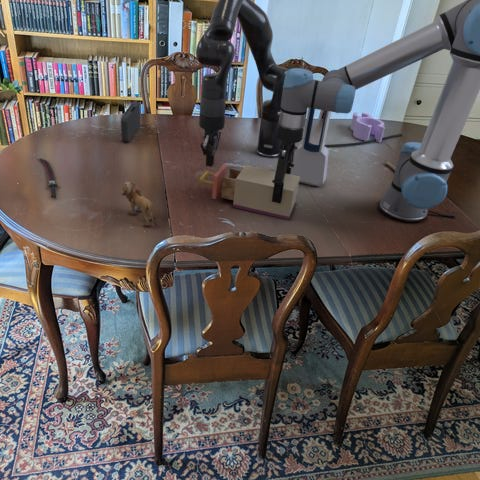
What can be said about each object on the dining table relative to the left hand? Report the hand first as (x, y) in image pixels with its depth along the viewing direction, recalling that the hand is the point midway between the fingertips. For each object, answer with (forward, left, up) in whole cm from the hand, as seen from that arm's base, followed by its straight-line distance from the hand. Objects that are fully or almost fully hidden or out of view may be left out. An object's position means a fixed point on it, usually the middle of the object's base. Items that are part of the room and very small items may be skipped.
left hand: (209, 165), depth 147 cm
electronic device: (-37, +6, -10) cm, 39 cm away
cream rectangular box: (-12, +15, -10) cm, 22 cm away
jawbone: (-81, +17, -10) cm, 83 cm away
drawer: (-6, +7, -9) cm, 12 cm away
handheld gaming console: (+2, -58, -10) cm, 59 cm away
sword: (+43, -30, -10) cm, 53 cm away
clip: (-96, -21, -10) cm, 99 cm away
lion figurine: (+26, +5, -10) cm, 28 cm away
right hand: (-15, +18, -5) cm, 24 cm away
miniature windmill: (-70, -44, -10) cm, 83 cm away
